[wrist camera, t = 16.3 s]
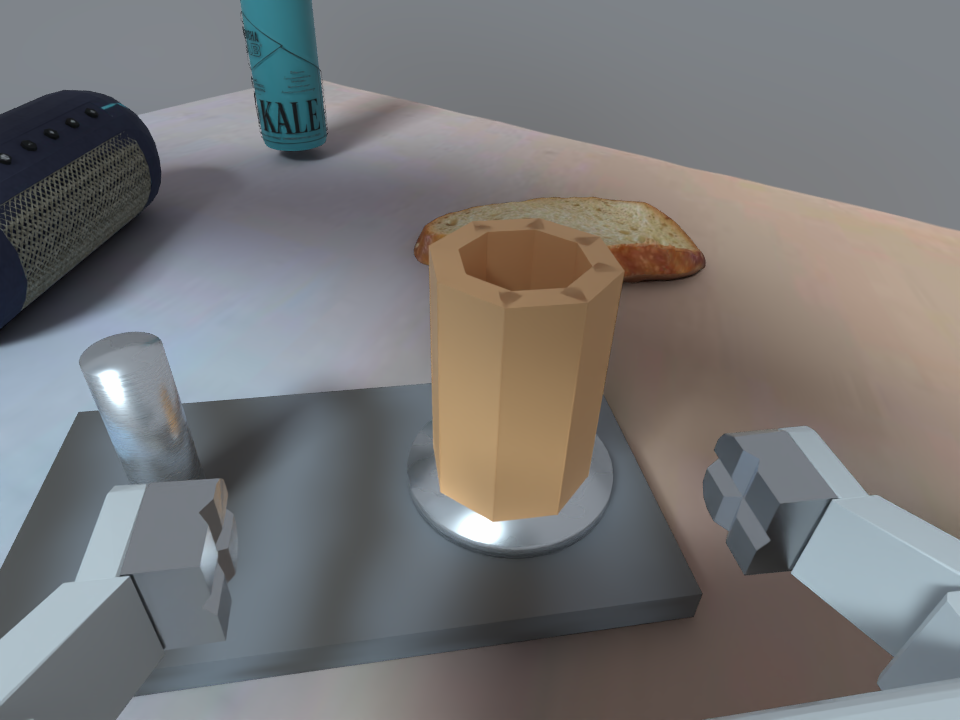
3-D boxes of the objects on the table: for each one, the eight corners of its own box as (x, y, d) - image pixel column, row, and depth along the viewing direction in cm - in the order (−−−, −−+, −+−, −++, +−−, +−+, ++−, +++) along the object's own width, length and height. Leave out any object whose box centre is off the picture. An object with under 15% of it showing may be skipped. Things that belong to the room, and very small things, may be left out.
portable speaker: (-2, 384, 36) (-92, 213, 30) (-175, 372, 36) (-297, 202, 30) (193, 203, 56) (162, 79, 50) (80, 197, 57) (37, 74, 51)
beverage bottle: (301, 141, 70) (270, -87, 58) (345, 155, 66) (321, -83, 55) (250, 156, 65) (205, -85, 53) (294, 172, 62) (256, -81, 50)
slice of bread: (394, 251, 50) (392, 205, 48) (551, 194, 60) (554, 154, 58) (572, 354, 40) (579, 302, 38) (725, 264, 50) (737, 219, 48)
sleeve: (445, 528, 26) (443, 312, 20) (428, 420, 31) (423, 223, 25) (602, 510, 27) (644, 299, 21) (560, 408, 32) (585, 215, 26)
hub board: (-43, 721, 22) (-246, 506, 15) (88, 434, 33) (2, 241, 26) (693, 616, 25) (772, 409, 19) (587, 391, 37) (616, 213, 30)
